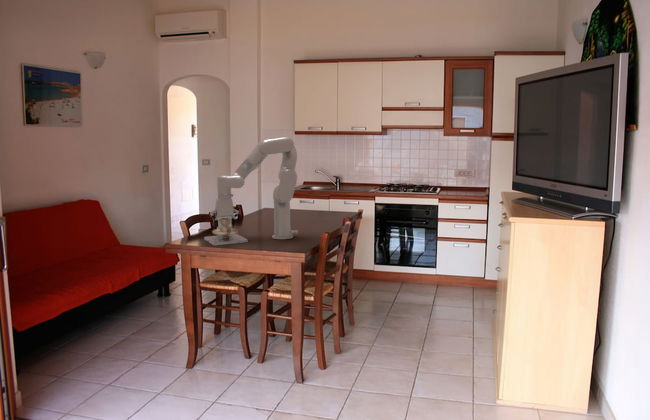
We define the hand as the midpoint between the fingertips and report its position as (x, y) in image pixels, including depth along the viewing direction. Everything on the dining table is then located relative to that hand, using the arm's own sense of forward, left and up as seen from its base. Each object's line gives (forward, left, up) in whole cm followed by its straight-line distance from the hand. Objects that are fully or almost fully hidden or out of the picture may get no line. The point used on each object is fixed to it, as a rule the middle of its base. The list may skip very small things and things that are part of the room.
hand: (224, 226), depth 326 cm
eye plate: (0, 0, -9) cm, 9 cm away
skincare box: (-5, -18, -9) cm, 21 cm away
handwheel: (0, 0, -7) cm, 7 cm away
